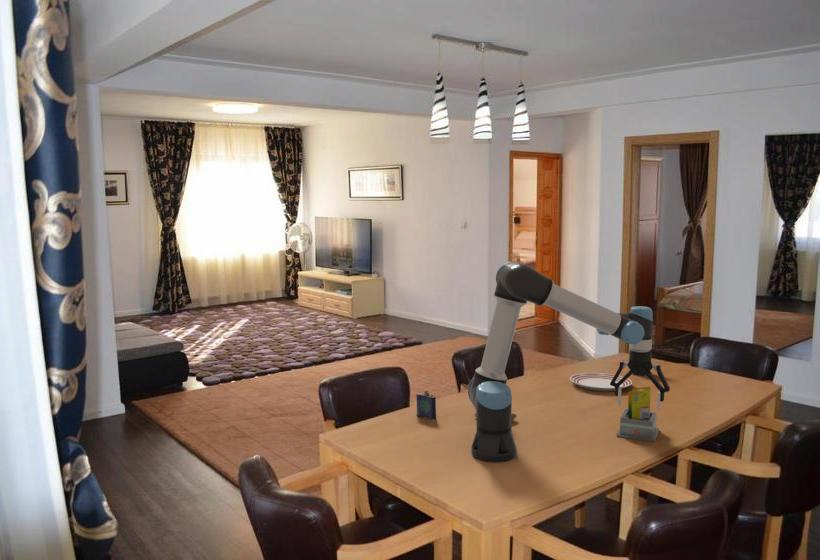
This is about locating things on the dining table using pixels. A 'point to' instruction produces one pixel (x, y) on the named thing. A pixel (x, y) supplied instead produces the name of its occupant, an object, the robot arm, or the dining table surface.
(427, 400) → the flask
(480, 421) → the robot arm
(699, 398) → the dining table surface
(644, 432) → the stand
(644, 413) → the crayon box
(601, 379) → the dinner plate
